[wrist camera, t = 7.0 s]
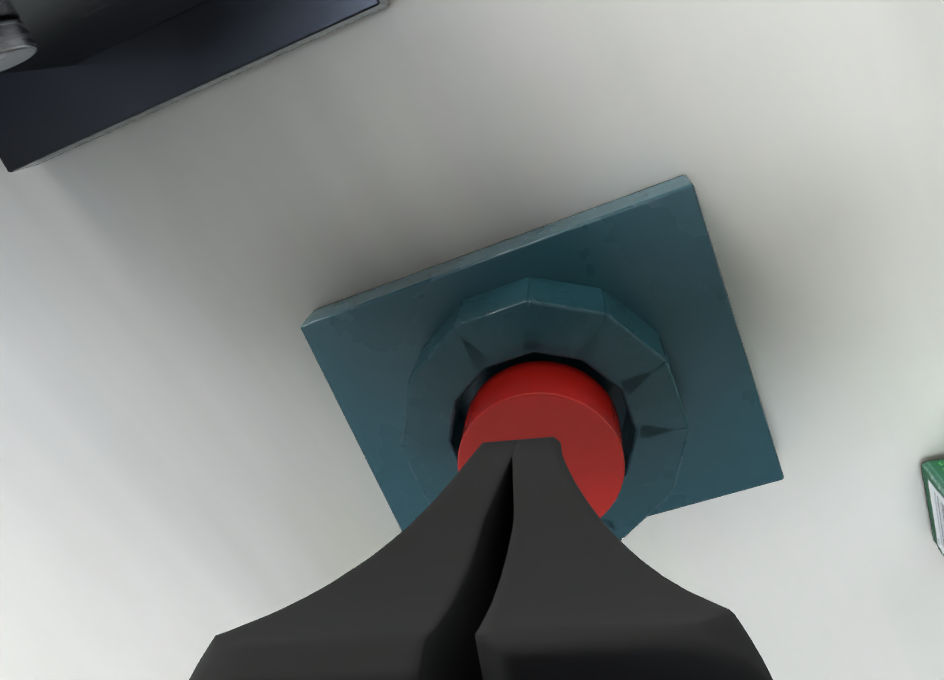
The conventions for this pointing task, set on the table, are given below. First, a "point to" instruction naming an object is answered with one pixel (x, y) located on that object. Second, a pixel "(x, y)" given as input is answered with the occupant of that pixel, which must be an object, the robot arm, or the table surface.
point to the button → (553, 423)
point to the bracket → (134, 60)
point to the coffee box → (935, 498)
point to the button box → (560, 353)
